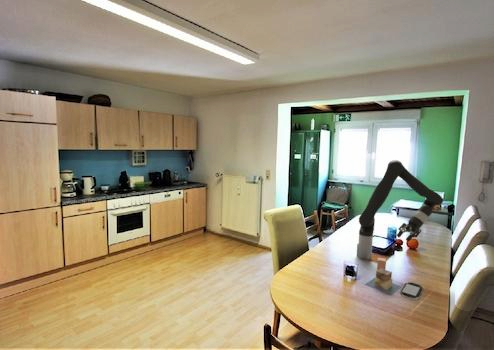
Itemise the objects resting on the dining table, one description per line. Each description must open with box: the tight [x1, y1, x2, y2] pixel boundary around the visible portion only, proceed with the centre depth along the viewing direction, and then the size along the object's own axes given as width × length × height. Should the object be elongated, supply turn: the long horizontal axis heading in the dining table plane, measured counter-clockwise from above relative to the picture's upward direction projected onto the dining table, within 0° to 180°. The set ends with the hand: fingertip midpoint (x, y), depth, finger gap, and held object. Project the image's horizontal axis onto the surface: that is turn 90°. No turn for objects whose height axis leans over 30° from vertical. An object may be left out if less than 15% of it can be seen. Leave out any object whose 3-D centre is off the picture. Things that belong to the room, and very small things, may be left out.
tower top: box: [375, 268, 393, 282], centre depth 159 cm, size 6×6×4 cm
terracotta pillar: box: [376, 257, 387, 271], centre depth 175 cm, size 5×5×10 cm
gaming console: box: [399, 282, 424, 301], centre depth 154 cm, size 19×9×2 cm, turn 138°
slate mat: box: [364, 277, 403, 296], centre depth 159 cm, size 15×15×1 cm
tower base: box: [374, 276, 393, 290], centre depth 159 cm, size 7×7×4 cm
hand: (402, 238), depth 177 cm, fingers open, 8 cm apart
